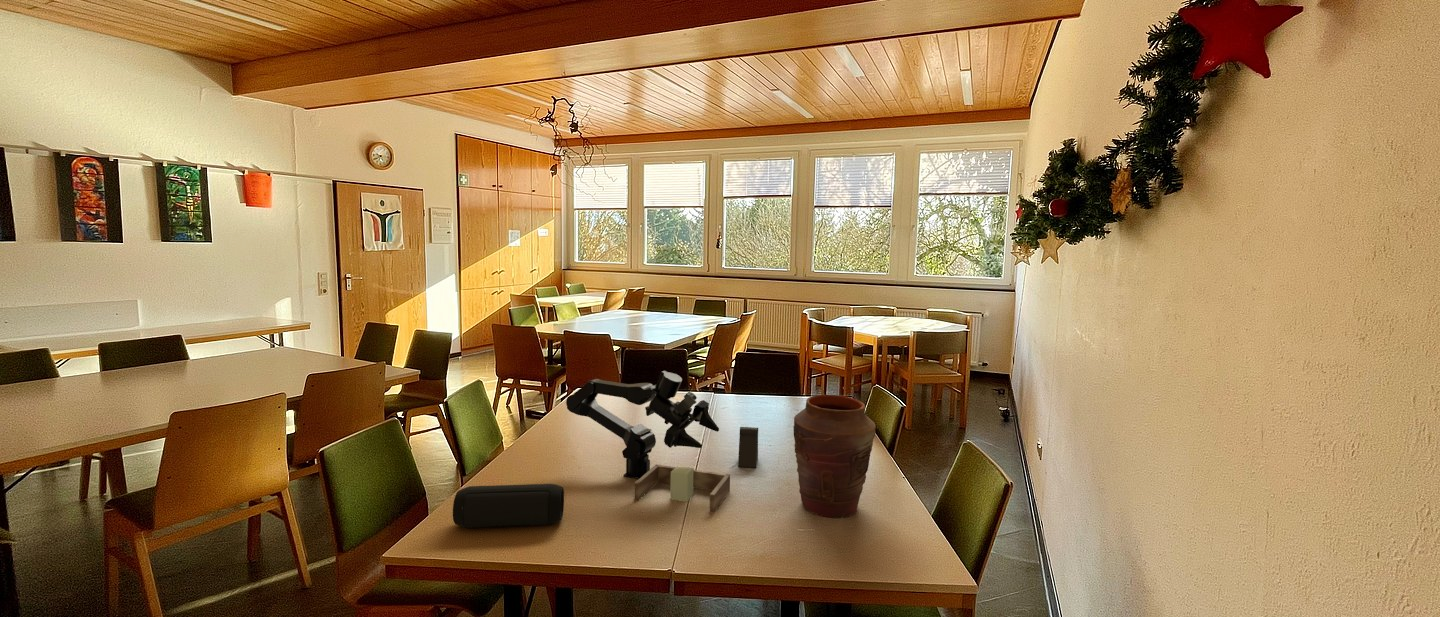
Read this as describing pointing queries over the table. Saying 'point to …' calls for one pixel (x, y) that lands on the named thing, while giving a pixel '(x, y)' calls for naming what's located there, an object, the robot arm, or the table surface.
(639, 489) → the wooden u-shaped frame
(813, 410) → the vase
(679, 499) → the block
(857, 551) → the table surface
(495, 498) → the portable speaker
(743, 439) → the door stopper
